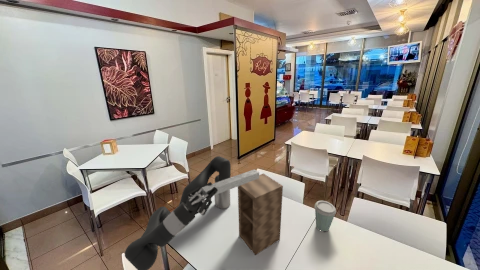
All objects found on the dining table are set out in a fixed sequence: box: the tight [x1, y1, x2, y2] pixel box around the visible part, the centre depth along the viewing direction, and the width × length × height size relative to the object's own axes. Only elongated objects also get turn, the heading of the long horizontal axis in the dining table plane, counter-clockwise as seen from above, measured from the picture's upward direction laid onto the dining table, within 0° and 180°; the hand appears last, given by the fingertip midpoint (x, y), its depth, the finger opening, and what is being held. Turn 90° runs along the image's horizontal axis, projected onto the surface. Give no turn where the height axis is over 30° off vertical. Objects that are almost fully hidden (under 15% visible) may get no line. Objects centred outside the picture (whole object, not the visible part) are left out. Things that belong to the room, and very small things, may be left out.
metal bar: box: [202, 169, 260, 196], centre depth 83 cm, size 26×4×3 cm, turn 123°
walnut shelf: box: [237, 173, 284, 256], centre depth 97 cm, size 16×14×32 cm
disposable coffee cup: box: [314, 200, 337, 232], centre depth 105 cm, size 11×11×15 cm
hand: (213, 186), depth 78 cm, fingers closed on metal bar, 3 cm apart
